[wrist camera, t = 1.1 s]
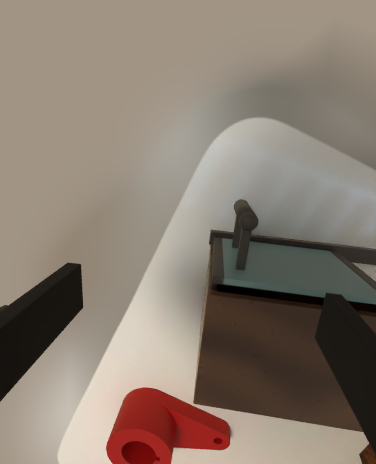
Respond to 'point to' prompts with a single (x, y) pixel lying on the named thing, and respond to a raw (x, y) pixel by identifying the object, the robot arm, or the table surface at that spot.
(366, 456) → the mug
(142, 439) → the lever
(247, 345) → the cabinet
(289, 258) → the glass door
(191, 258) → the table surface
